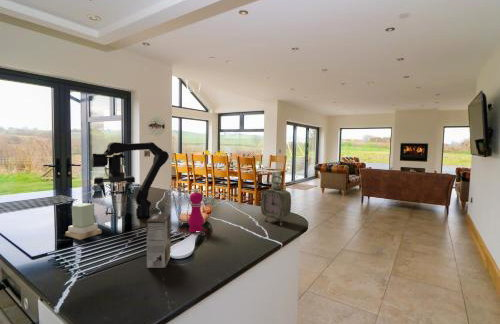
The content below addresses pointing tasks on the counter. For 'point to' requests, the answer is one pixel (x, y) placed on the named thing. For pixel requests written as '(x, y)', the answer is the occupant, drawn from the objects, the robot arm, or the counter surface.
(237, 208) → the counter surface
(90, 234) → the bottom block
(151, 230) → the coffee box
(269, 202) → the tabletop clock
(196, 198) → the pepper mill
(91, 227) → the top block
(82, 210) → the sage block
